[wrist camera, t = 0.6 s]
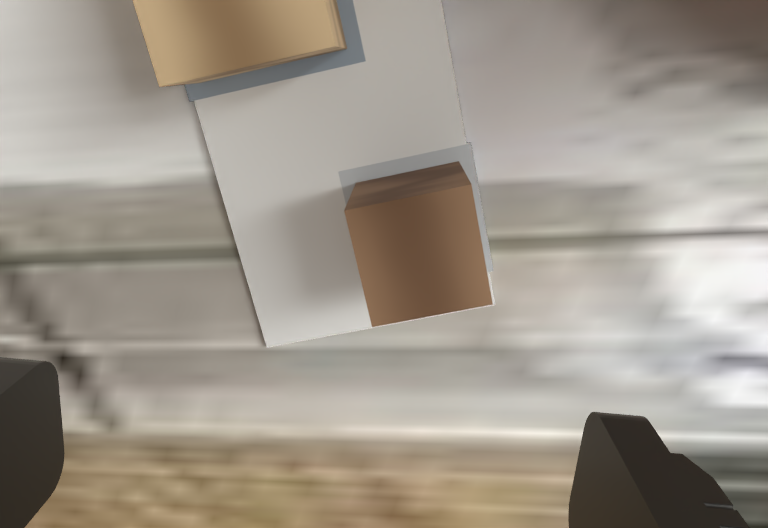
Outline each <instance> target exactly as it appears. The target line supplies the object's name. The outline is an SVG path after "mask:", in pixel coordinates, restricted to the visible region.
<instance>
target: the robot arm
mask: <svg viewBox="0 0 768 528" xmlns="http://www.w3.org/2000/svg"><path fill="white" fill-rule="evenodd" d="M63 463H64V442H63V430H62V418H61V406H60V395H59V383H58V375H57V371H56V369H55V367H54V366H53V364H51V363H50V362H46V361H35V360H24V359H13V358H2V357H0V528H24V527H25V526H26V525H27V524H28V523H29V521H30V520H31V519H32V518H33V517H34V515H35V514H36V513H37V512H38V511H39V509H40V508H41V507H42V506H43V504H44V503H45V502H46V501H47V500H48V498H49V497H50V496H51V494H52V493H53V491H54V490H55V488H56V486H57V484H58V481H59V479H60V476H61V472H62V468H63ZM569 528H750V527H749V526H748V525H747V523H746V522H745V521H744V519H743V518H742V517H741V515H740V514H739V512H738V511H737V510H733V504H732V503H731V502H730V500H729V499H728V497H727V496H726V495H725V493H724V492H723V491H722V489H721V488H720V487H719V485H718V484H717V482H716V481H715V480H714V478H713V477H711V476H710V475H709V474H707V473H706V472H705V471H703V470H702V469H701V468H700V467H698V466H697V465H696V464H694V463H693V462H692V461H690V460H689V459H688V458H687V457H685V456H684V455H683V454H675V453H670V452H669V450H668V449H667V447H666V446H665V444H664V443H663V441H662V440H661V438H660V437H659V435H658V434H657V432H656V431H655V429H654V428H653V426H652V425H651V423H650V422H649V421H648V419H647V418H645V417H643V416H633V415H622V414H611V413H600V412H592V413H591V414H590V415H589V416H588V418H587V420H586V423H585V427H584V431H583V436H582V441H581V446H580V451H579V456H578V461H577V466H576V471H575V476H574V481H573V486H572V491H571V496H570V502H569Z"/></svg>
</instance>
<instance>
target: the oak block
mask: <svg viewBox="0 0 768 528" xmlns="http://www.w3.org/2000/svg"><path fill="white" fill-rule="evenodd" d="M133 3H134V7H135V10H136V13H137V16H138V20H139V23H140V26H141V29H142V32H143V36H144V39H145V42H146V45H147V49H148V52H149V55H150V58H151V62H152V65H153V68H154V71H155V74H156V78H157V81H158V84H159V87H165V86H175V85H185V84H195V83H202V82H206V81H210V80H215V79H219V78H223V77H228V76H232V75H236V74H241V73H245V72H249V71H253V70H258V69H262V68H266V67H271V66H275V65H279V64H284V63H288V62H292V61H297V60H301V59H305V58H310V57H314V56H318V55H323V54H327V53H331V52H336V51H340V50H344V49H347V45H346V41H345V36H344V32H343V27H342V23H341V18H340V14H339V9H338V5H337V0H133Z"/></svg>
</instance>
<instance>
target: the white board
mask: <svg viewBox="0 0 768 528" xmlns="http://www.w3.org/2000/svg"><path fill="white" fill-rule="evenodd" d="M337 5H338V9H339V14H340V18H341V23H342V27H343V32H344V36H345V41H346V45H347V49H344V50H340V51H336V52H331V53H327V54H323V55H318V56H314V57H310V58H305V59H301V60H297V61H292V62H288V63H284V64H279V65H275V66H271V67H266V68H262V69H258V70H253V71H249V72H245V73H241V74H236V75H232V76H228V77H223V78H219V79H215V80H210V81H206V82H202V83H195V84H185V88H186V91H187V95H188V98H189V101H194V103H195V107H196V110H197V113H198V117H199V120H200V124H201V127H202V130H203V134H204V137H205V140H206V144H207V147H208V151H209V154H210V157H211V161H212V164H213V168H214V171H215V174H216V178H217V181H218V184H219V188H220V191H221V195H222V198H223V201H224V205H225V208H226V211H227V215H228V218H229V222H230V225H231V228H232V232H233V235H234V238H235V242H236V245H237V249H238V252H239V255H240V259H241V262H242V266H243V269H244V272H245V276H246V279H247V282H248V286H249V289H250V293H251V296H252V299H253V303H254V306H255V309H256V313H257V316H258V320H259V323H260V326H261V330H262V333H263V336H264V340H265V343H266V347H267V348H269V347H274V346H280V345H285V344H290V343H296V342H301V341H306V340H312V339H317V338H322V337H327V336H333V335H338V334H343V333H349V332H354V331H359V330H365V329H370V328H375V327H372V325H371V321H370V316H369V312H368V308H367V304H366V300H365V296H364V291H363V287H362V283H361V279H360V275H359V271H358V267H357V262H356V258H355V254H354V250H353V246H352V242H351V237H350V233H349V229H348V225H347V221H346V217H345V212H344V210H345V207H346V205H347V202H348V200H349V198H350V195H351V193H352V190H353V188H354V186H355V183H358V182H362V181H367V180H372V179H377V178H381V177H386V176H391V175H396V174H400V173H405V172H410V171H414V170H419V169H424V168H429V167H433V166H438V165H443V164H448V163H452V162H457V161H459V162H460V164H461V166H462V168H463V170H464V171H465V173H466V175H467V177H468V179H469V181H470V183H471V185H472V190H473V196H474V201H475V207H476V213H477V218H478V224H479V229H480V235H481V241H482V246H483V252H484V258H485V263H486V269H487V274H488V280H489V286H490V291H491V297H492V302H493V305H495V300H494V295H493V289H492V283H491V278H490V272H491V271H493V265H492V260H491V254H490V248H489V243H488V237H487V231H486V225H485V220H484V214H483V208H482V203H481V197H480V191H479V185H478V180H477V174H476V168H475V163H474V157H473V151H472V145H471V143H470V142H469V143H467V142H466V136H465V131H464V125H463V120H462V114H461V108H460V103H459V97H458V91H457V86H456V80H455V74H454V69H453V63H452V57H451V52H450V46H449V40H448V35H447V29H446V23H445V18H444V12H443V7H442V1H441V0H337ZM488 306H492V305H488ZM482 307H487V306H482ZM482 307H477V308H482ZM472 309H476V308H472ZM466 310H471V309H466ZM466 310H461V311H466ZM456 312H460V311H456ZM450 313H455V312H450ZM450 313H445V314H450ZM440 315H444V314H440ZM434 316H439V315H434ZM434 316H429V317H434ZM424 318H428V317H424ZM419 319H423V318H419ZM413 320H418V319H413ZM413 320H408V321H413ZM403 322H407V321H403ZM397 323H402V322H397ZM397 323H392V324H397ZM387 325H391V324H387ZM381 326H386V325H381ZM381 326H376V327H381Z"/></svg>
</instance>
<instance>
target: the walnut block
mask: <svg viewBox="0 0 768 528" xmlns="http://www.w3.org/2000/svg"><path fill="white" fill-rule="evenodd" d="M344 212H345V217H346V221H347V225H348V229H349V233H350V237H351V242H352V246H353V250H354V254H355V258H356V262H357V267H358V271H359V275H360V279H361V283H362V287H363V291H364V296H365V300H366V304H367V308H368V312H369V316H370V321H371V325H372V327H376V326H381V325H387V324H392V323H397V322H403V321H408V320H413V319H419V318H424V317H429V316H434V315H440V314H445V313H450V312H456V311H461V310H466V309H472V308H477V307H482V306H488V305H493V302H492V297H491V291H490V286H489V280H488V274H487V269H486V263H485V258H484V252H483V246H482V241H481V235H480V229H479V224H478V218H477V213H476V207H475V201H474V196H473V190H472V185H471V183H470V181H469V179H468V177H467V175H466V173H465V171H464V170H463V168H462V166H461V164H460V162H459V161H457V162H452V163H448V164H443V165H438V166H433V167H429V168H424V169H419V170H414V171H410V172H405V173H400V174H396V175H391V176H386V177H381V178H377V179H372V180H367V181H362V182H358V183H355V186H354V188H353V190H352V193H351V195H350V198H349V200H348V202H347V205H346V207H345V210H344Z"/></svg>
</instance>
